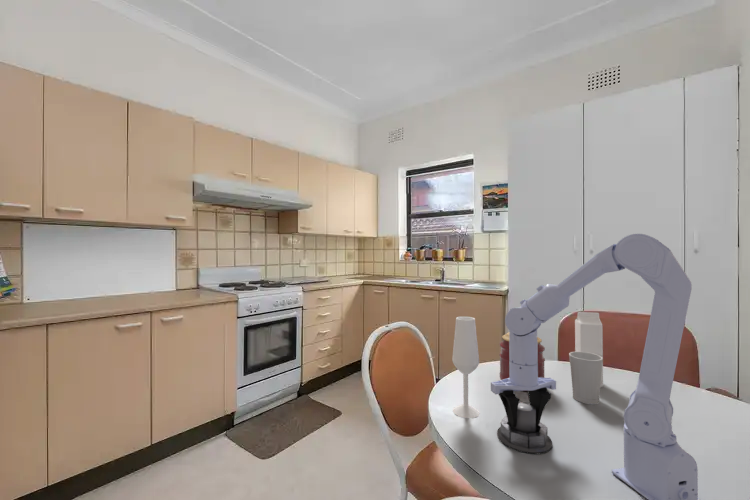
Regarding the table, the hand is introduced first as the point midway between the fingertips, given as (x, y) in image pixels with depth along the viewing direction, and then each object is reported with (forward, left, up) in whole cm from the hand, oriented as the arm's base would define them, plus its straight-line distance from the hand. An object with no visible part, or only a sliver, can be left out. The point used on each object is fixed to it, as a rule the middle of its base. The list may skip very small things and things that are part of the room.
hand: (523, 423), depth 74 cm
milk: (+25, -39, -4) cm, 46 cm away
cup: (+15, -29, -4) cm, 33 cm away
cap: (0, 0, -2) cm, 2 cm away
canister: (+28, -18, -4) cm, 33 cm away
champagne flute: (+14, +7, -4) cm, 16 cm away
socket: (0, 0, -3) cm, 3 cm away
